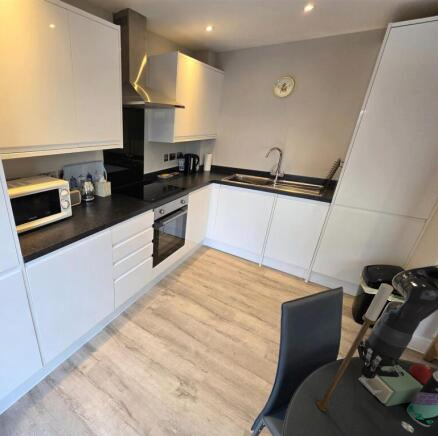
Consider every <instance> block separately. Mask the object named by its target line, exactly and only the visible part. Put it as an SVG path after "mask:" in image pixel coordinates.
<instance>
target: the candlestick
mask: <svg viewBox="0 0 438 436" xmlns="http://www.w3.org/2000/svg"><path fill="white" fill-rule="evenodd" d="M365 314H366V313H364V314H363V316H362V320H363V321H364V322H363V324H362V325H361V327H360V329H359V330H358V332H357V335H356V337H355V338H354V340H353V342H352V343H351V345H350V347H349V350H348V352H347V353H346V355H345V357H344V359H343V360H342V362H341V364H340V366H339V368H338V370H337V372H336V374H335V375H334V377H333V379H332V381H331V383H330V385H329V387H328V388H327V390H326V392H325V393H324V397H323V398H322V399H321V400H318V401H317V402H316V407H317V408H318V409H319V410H320V411H321V412H327V410H328V405H327V404H328V402H329V401H330V398H331V397H332V395H333V393H334V391H335V389H336V387H337V386H338V384H339V382H340V381H341V379H342V376H343V375H344V373H345V371H346V370H347V367H348V365H349V364H350V362H351V360H353V359H352V358H353V357H354V355H355V353H356V352H357V351H358V349H357V348H358V346H359V344H360V342H361V340H362V339H364V337H365V335H366V333H367V332H368V330H369V328H370V326H371V325H373V326H374V325H375V323H376V322H377V320H378V319H376V321H372V320H369V319H367V318H366V317H365Z"/></svg>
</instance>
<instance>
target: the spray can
mask: <svg viewBox="0 0 438 436" xmlns="http://www.w3.org/2000/svg"><path fill="white" fill-rule="evenodd" d="M422 386H423V388H422V389H421V390H420V391H419V393H418V394H417V395H416V397H415V398H414V399H413V401H412V402H409V404H408V406H407V407H406V413H407V415H408V416H409V417H410V418H411V419H412V420H413V421H414V422H415V423H417V424H419V425H421V426H423V427H426V428H429V427H432V425H433V424H435V422H436V421H437V419H438V369H437V370H435V371H434V372H433V374H432V376H431V377H430V378H429V380H428V381H427V382H426V384H423V385H422Z"/></svg>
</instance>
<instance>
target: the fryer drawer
mask: <svg viewBox="0 0 438 436" xmlns="http://www.w3.org/2000/svg"><path fill="white" fill-rule="evenodd" d="M358 381H359V382H360V383H361V384H362V385H363V386H364V387H365V388H366V389H367V390H368V391H369V392H370V393H371V394H372V395H373V396H375V397H376V398H377V400H379V401H380V402H381V404H384V403H386V401H387V400H388V398H389V397H390V396H391V394H392V393H393V390H392V389H391V388H390V387H389V386H388V385H387V384H386V383H385V382H384V381H383V380H382V379H381V378H380V377H379V376H377V375H376V376H375V378H373V379H369V378H368V379H367V378H366V377H365V376H364V375H363V374H362V375H361V377H359V378H358Z"/></svg>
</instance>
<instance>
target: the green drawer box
mask: <svg viewBox="0 0 438 436" xmlns="http://www.w3.org/2000/svg"><path fill="white" fill-rule="evenodd" d="M397 367H398V369H399V371H402V372H403V373H404V376H401V377H384V376H379V377H380V378H381V379H382V380H383V381H384V382H385V383H386V384H387V385H388V386H389V387H390V388H391V389H392V390H393V393H392V394H391V396H390V397H389V398H388V400H387V401H386V403H383V405H384V406H385V407H391V406H397V405H400V404H406V403H411V402H412V401H413V399H414V398H415V397H416V395H417V394H418V393H419V391H420V390H421V389H422V388H423V386H424V385H423V384H422V383H419V382H418V381H417V380H415V379H414V378H413V377H412V376H411V375H410V373H409V372H407V371H406V370H405V369H403V367H402V366H400V365H399V364H398V365H397ZM390 368H392V367H391V366H384V367H383V368H382V369H381V370H386V371H389V369H390ZM376 375H377V374H376ZM377 376H378V375H377Z"/></svg>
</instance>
